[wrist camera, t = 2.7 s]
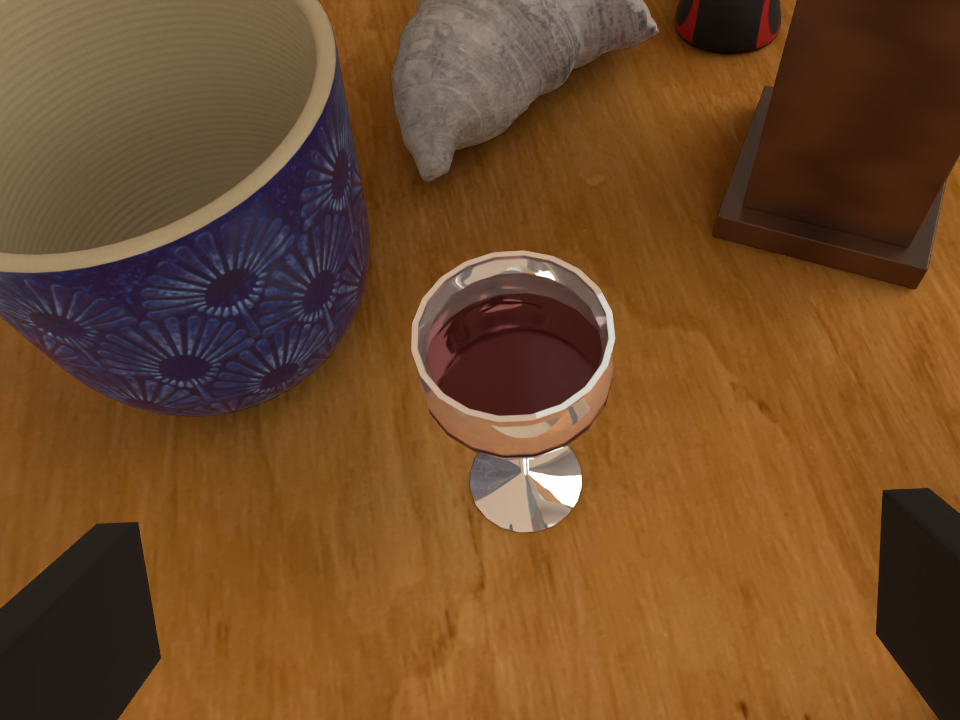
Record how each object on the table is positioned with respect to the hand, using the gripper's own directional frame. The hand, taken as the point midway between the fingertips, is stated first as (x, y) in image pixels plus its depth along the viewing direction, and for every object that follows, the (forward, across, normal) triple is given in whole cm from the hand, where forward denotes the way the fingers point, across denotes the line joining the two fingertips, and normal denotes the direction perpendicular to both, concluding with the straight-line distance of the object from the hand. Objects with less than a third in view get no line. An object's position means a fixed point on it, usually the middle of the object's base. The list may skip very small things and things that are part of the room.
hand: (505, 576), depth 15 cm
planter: (+29, -14, 0) cm, 32 cm away
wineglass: (+22, 0, -7) cm, 23 cm away
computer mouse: (+45, +14, +16) cm, 50 cm away
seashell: (+40, +1, +10) cm, 41 cm away
